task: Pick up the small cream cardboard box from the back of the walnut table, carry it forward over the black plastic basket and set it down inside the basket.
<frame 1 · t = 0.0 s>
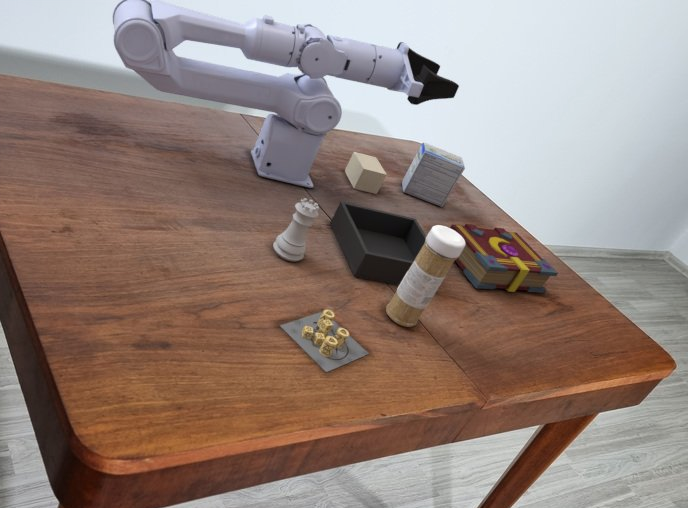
hand: (446, 80, 111), 22 cm above the table, tool horizontal, fingers open, 7 cm apart
decorative book: (491, 271, 115), on the table
small box: (360, 182, 123), on the table
sprinkles bottle: (399, 318, 93), on the table
basket: (380, 256, 104), on the table
rook chess piece: (286, 254, 95), on the table
dice set: (324, 341, 83), on the table
medicine box: (420, 196, 129), on the table
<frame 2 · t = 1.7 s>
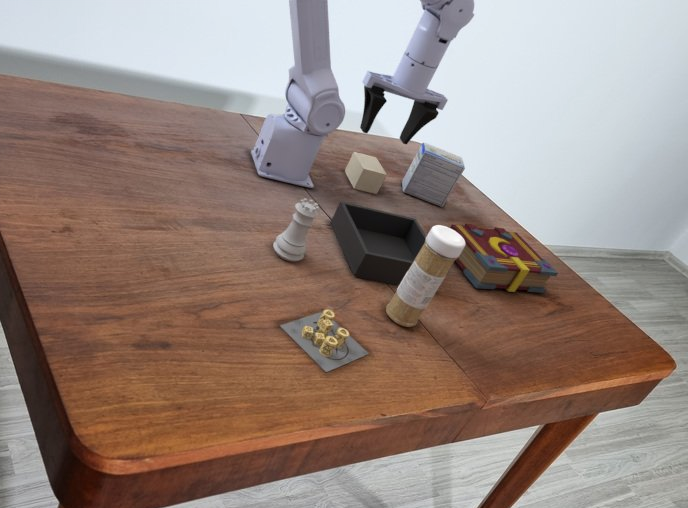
hand: (383, 136, 118), 9 cm above the table, tool pointing down, fingers open, 7 cm apart
nothing on the table moved.
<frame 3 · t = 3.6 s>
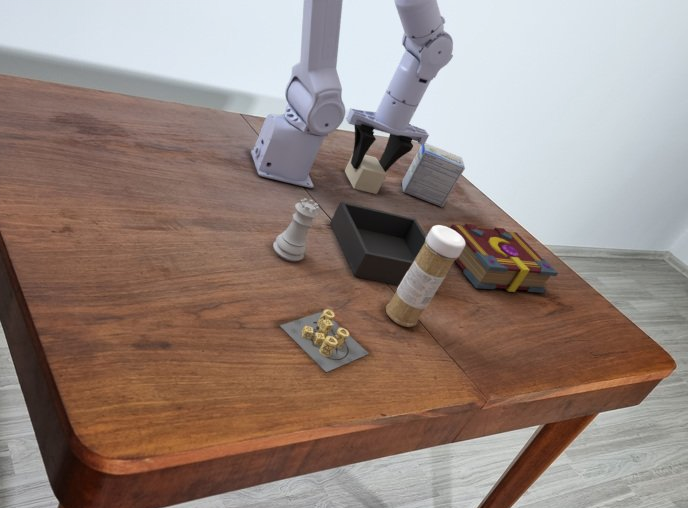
hand: (366, 169, 122), 3 cm above the table, tool pointing down, fingers closed on small box, 4 cm apart
small box: (360, 182, 123), on the table, touching gripper
everything else where it was.
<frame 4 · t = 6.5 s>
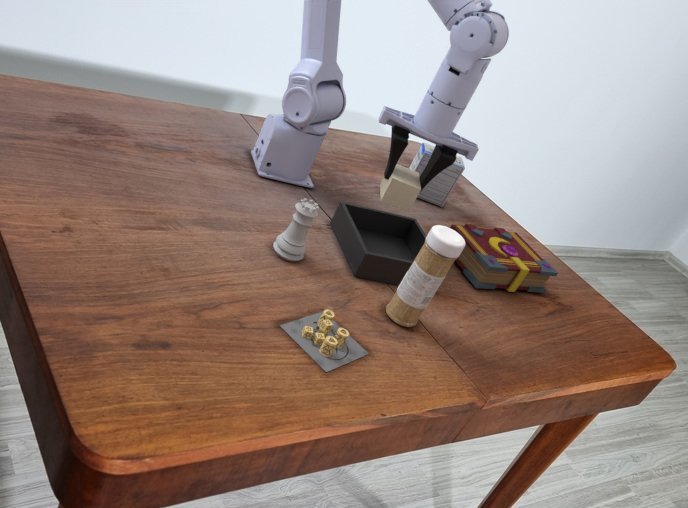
hand: (402, 182, 104), 9 cm above the table, tool pointing down, fingers closed on small box, 4 cm apart
small box: (394, 198, 106), point 7 cm above the table, touching gripper
everything else where it was.
when the fingers open (3 cm above the table, at t = 9.4 s): small box stays where it is, resting on basket.
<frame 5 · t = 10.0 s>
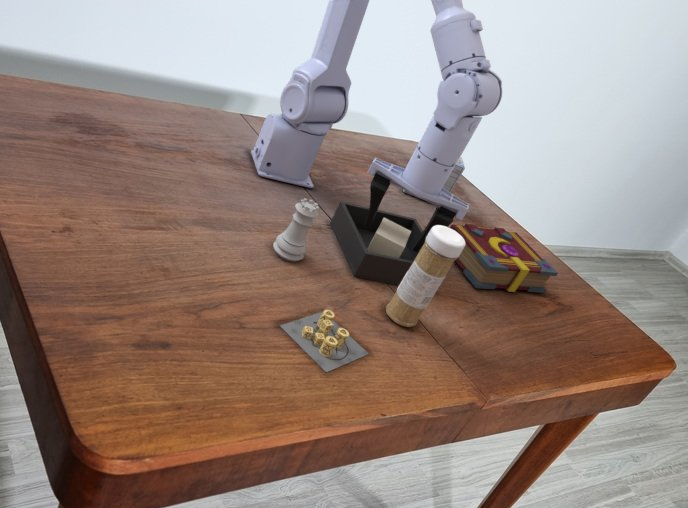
hand: (391, 236, 102), 4 cm above the table, tool pointing down, fingers open, 7 cm apart
small box: (382, 253, 104), resting on basket
everything else where it was.
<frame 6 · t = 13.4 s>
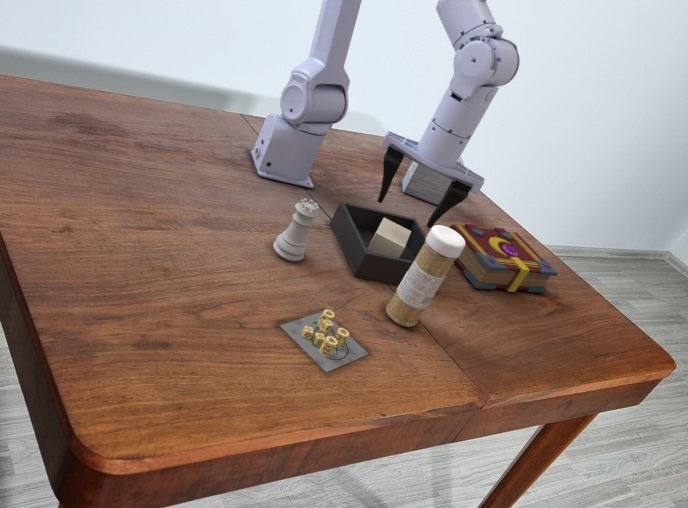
hand: (404, 212, 100), 8 cm above the table, tool pointing down, fingers open, 7 cm apart
nothing on the table moved.
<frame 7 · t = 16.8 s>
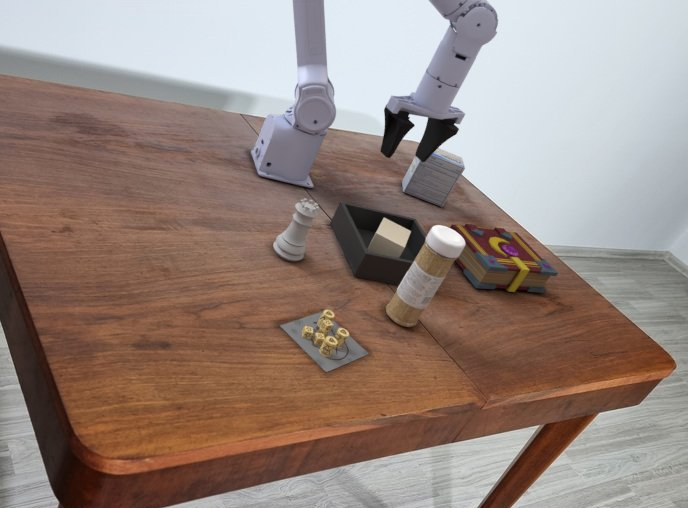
hand: (402, 156, 113), 9 cm above the table, tool pointing down, fingers open, 7 cm apart
nothing on the table moved.
at the end: small box inside the target area in the basket (0.0 cm from its centre), point 0.5 cm above the basket's base; the gripper is holding nothing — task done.
